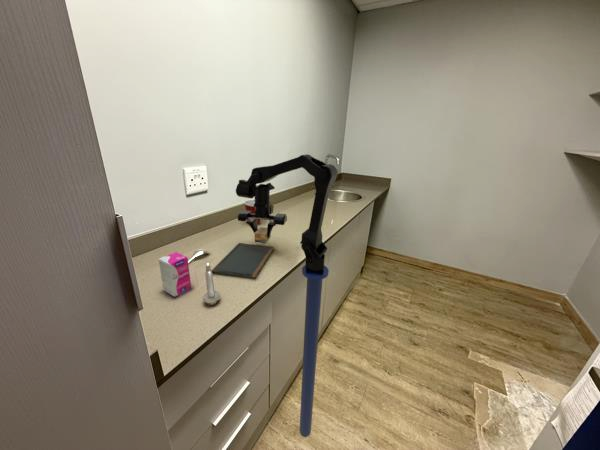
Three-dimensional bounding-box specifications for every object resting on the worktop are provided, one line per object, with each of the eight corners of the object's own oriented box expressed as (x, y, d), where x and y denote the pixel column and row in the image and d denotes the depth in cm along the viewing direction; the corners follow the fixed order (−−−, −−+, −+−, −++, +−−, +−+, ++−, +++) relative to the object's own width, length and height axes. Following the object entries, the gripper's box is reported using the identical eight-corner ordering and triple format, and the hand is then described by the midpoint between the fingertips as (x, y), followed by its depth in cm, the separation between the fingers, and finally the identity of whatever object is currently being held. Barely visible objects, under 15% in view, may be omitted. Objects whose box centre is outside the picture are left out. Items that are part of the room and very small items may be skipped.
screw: (213, 309, 67) (199, 305, 69) (224, 299, 71) (211, 295, 73) (208, 268, 63) (193, 265, 64) (220, 260, 67) (206, 257, 68)
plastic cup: (263, 227, 128) (262, 205, 124) (242, 226, 128) (241, 204, 124) (266, 220, 138) (265, 200, 134) (247, 219, 138) (246, 199, 134)
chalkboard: (274, 248, 104) (274, 246, 104) (255, 279, 82) (255, 276, 81) (239, 245, 106) (239, 242, 106) (211, 273, 84) (211, 271, 84)
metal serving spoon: (166, 268, 79) (156, 264, 81) (167, 278, 80) (157, 274, 82) (211, 248, 97) (202, 245, 98) (211, 256, 98) (202, 253, 99)
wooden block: (270, 236, 102) (270, 227, 100) (265, 243, 95) (265, 234, 94) (260, 235, 102) (260, 226, 101) (254, 242, 96) (254, 233, 95)
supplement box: (175, 298, 71) (169, 264, 67) (163, 291, 74) (157, 258, 70) (192, 288, 76) (187, 256, 72) (180, 282, 79) (175, 251, 75)
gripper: (290, 197, 99) (289, 232, 104) (247, 193, 102) (248, 228, 107) (283, 204, 89) (283, 242, 94) (235, 200, 92) (238, 237, 97)
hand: (262, 237), depth 98 cm, fingers closed on wooden block, 4 cm apart
